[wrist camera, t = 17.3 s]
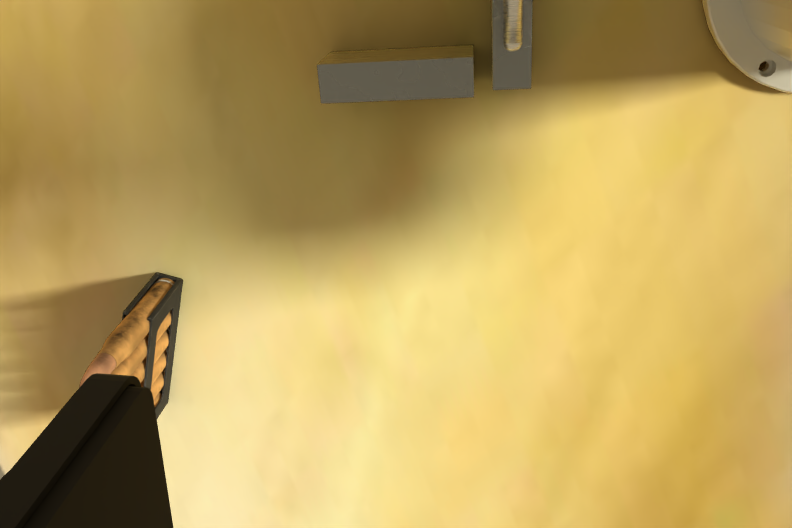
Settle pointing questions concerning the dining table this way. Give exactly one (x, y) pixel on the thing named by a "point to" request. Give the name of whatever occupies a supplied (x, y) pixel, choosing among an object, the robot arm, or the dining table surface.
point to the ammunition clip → (145, 339)
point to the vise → (432, 65)
